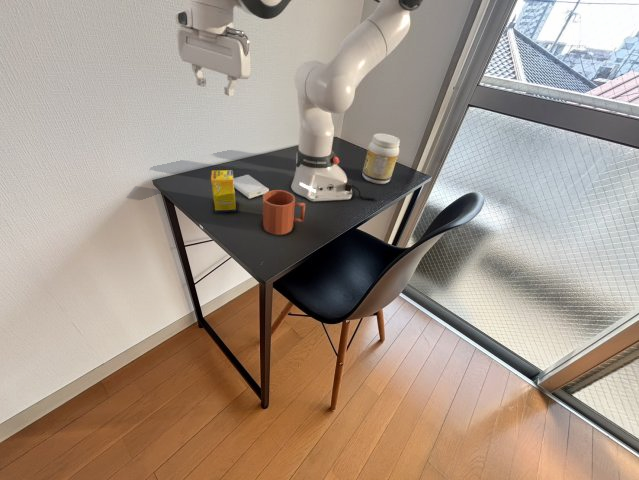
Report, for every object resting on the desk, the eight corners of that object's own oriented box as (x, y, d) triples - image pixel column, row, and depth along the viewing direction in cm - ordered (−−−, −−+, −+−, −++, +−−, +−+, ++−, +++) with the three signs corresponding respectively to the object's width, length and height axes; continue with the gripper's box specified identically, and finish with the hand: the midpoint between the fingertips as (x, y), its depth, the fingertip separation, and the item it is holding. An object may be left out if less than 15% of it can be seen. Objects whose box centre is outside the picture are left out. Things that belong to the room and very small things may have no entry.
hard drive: (228, 179, 95) (248, 194, 88) (248, 174, 100) (269, 188, 93) (228, 183, 96) (248, 199, 89) (248, 178, 101) (269, 192, 94)
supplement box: (215, 202, 85) (211, 169, 79) (235, 201, 87) (232, 170, 80) (215, 213, 81) (210, 179, 74) (236, 212, 83) (233, 179, 76)
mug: (262, 234, 76) (262, 205, 70) (263, 217, 82) (263, 189, 77) (304, 235, 78) (307, 207, 72) (302, 218, 84) (304, 191, 79)
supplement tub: (362, 169, 120) (371, 130, 109) (389, 174, 119) (401, 135, 109) (360, 181, 110) (370, 139, 100) (390, 187, 109) (403, 145, 99)
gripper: (258, 34, 62) (255, 100, 70) (192, 17, 67) (196, 80, 75) (239, 30, 57) (238, 102, 65) (169, 12, 63) (176, 80, 71)
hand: (215, 90), depth 70 cm, fingers open, 8 cm apart
